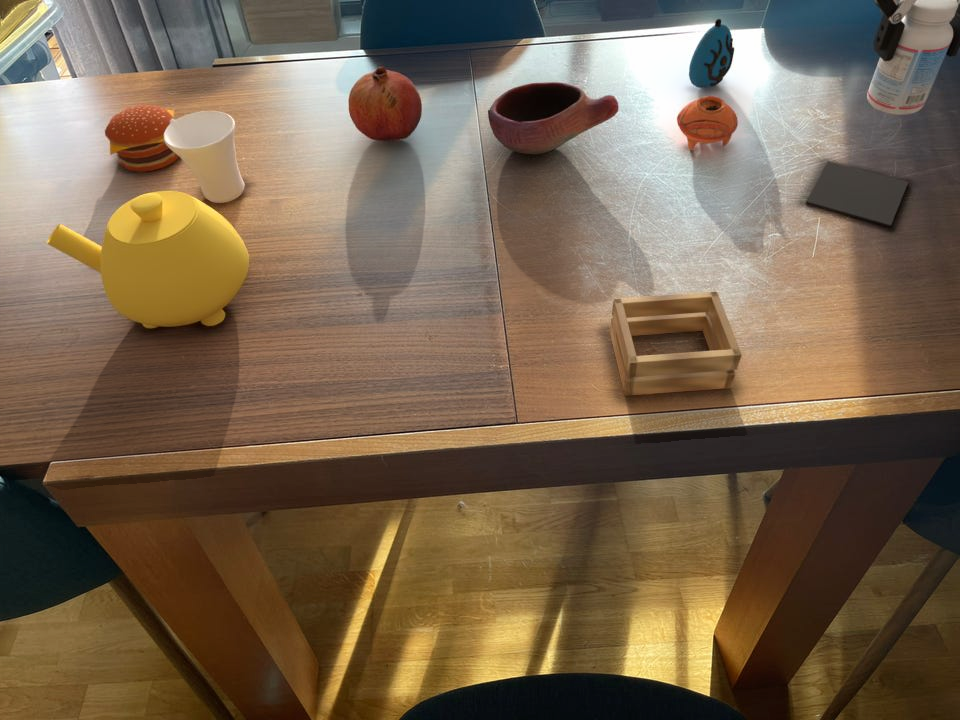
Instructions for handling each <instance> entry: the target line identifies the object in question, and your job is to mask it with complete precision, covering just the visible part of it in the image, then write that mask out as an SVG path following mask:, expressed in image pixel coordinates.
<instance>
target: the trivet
mask: <svg viewBox="0 0 960 720" xmlns="http://www.w3.org/2000/svg"><path fill="white" fill-rule="evenodd" d="M908 185H909V181H907V180H903V179H899V178H896V177H895V178H894V177H891V176H887V175H883V174H880V173H876V172H871V171H867V170H864V169H860V168H857V167H852V166H848V165H845V164H840V163H836V162H834V161H830V160H827V161H826V163H825V165H824V167H823V169H822V170H821V172H820V174H819V176H818V178H817V180H816V182H815V184H814V186H813V188H812V189H811V191H810V193H809V195H808V197H807V198H806V201H805V205H806V204H807V205H810V206H812V207H813V206H814V207H818V208H821V209H825V210H828V211H831V212H835V213H838V214H842V215H846V216H849V217H852V218H856V219H859V220H864V221H866V222H867V221H868V222H870V223H873V224H877V225H881V226H885V227H888V228H891V227H892V224H893V223H894V219H895V216H896V214H897V212H898V210H899V207H900V204H901V202H902V199H903V197H904V194H905V192H906V190H907V187H908Z"/></svg>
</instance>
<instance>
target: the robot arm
mask: <svg viewBox="0 0 960 720" xmlns="http://www.w3.org/2000/svg"><path fill="white" fill-rule="evenodd" d="M916 1H917V0H873V2H874V3H875V5H876V6H877V8H878V10H879V11H880V13H881V14H882V17H881V19H880V21H879V25H878V28H877V30H876V33H875V36H874V39H873V42H872V43H873V51H874V52H875V53H877V55H878V56H879V58H880V57H881V58H882V59H883V61H890V60H891V59H893V56H894V54H895V51H896V49H897V46H898V43H899V41H900V38H901V36H902V33H903V30H904V28H905V24H904V23H903V22H902V21H901V20H902V19H903V18H904V16H905V15H906V14H907V12H908V11H909V10H910V8H911V7H912V6H913V4H914V3H915V2H916ZM957 1H958V8H957V10H956V12H955V16H954V17H953V18H952V20H951V21H950V22H949V24H950V25H951V26H952V29H953V38H952V41H951V43H950V45H949V48H948V50H947V53H946V55H945V56H948V57H951V58H952V57H956V56H957V54H958V52H959V50H960V0H957Z"/></svg>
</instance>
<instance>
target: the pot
mask: <svg viewBox="0 0 960 720" xmlns="http://www.w3.org/2000/svg"><path fill="white" fill-rule="evenodd" d="M738 119H739V118H738V115H737V114H736V111H734V109H733V107H731V106H730V105H729V104H728V103H726V102H725V101H724V100H723V99H722V98H721V97H719V96H716V95H707V96H702V97H699V98H698V99H695V100H692V101H691V102H689V103H688V104H686V105H685V106H684V107H682V109H681V110H680V111H679V112H678V114H677V116H676V123H677V126H678V128H679V129H680V131H681V133H682V134H683V136H685V137H686V140H687V146H688V150H694V149H695V146H697V144H698V143H700V144H709V145H710V144H715V143H718V142H722V146H723V147H726V146H727V145H728V144H729V143H730V140H731V138H732V136H733V134H734V133H735V132H736V130H737V128H738V125H739V122H738V121H739V120H738Z"/></svg>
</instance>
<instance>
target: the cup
mask: <svg viewBox="0 0 960 720" xmlns="http://www.w3.org/2000/svg"><path fill="white" fill-rule="evenodd" d="M235 131H236V122H235V119H234V118H233V117H232V116H231V115H230V114H228V113H225V112H224V111H219V110H201V111H194V112H190V113H187V114H185V115H183V116H181V117H179V118H176V119H175V118H174V119H171V120H170V125H169V126H168V127H167V128H166V130H165V132H164V141H165V144H166V145H167V146H168V147H169V148H170V149H171V150H172V151H173V152H175V153H176V154H177V155H178V156H179V159H181V160H182V161H183V163H184V164H185V166H186V167H187V168H189V170H190V171H191V172H192V174H193V175H194V178H195V179H196V181H197V183H198V186H199V188H200V190H201V192H202V195H203V197H204V198H205V199H206V200H207V201H209V202H211V203H216V204H225V203H230V202H232V201H234V200H236V199H238V198H239V197H240V196H241V195H242V194H243V192H244V190H245V186H246V184H245V181H244V180H243V177H242V175H241V172H240V169H239V165H238V160H237V153H236V145H235Z"/></svg>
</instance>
